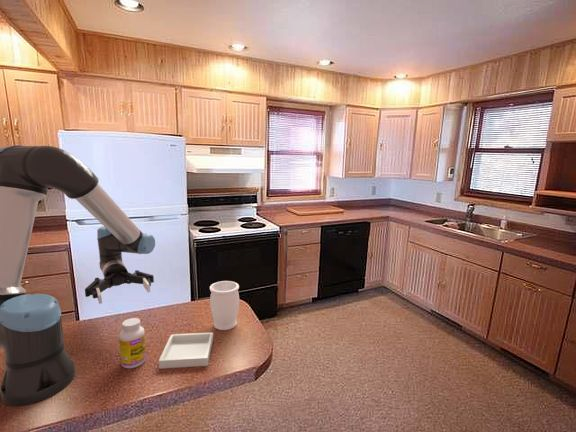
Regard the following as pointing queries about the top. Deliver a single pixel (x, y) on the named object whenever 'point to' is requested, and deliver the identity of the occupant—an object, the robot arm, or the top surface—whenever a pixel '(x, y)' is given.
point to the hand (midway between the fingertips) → (125, 293)
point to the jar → (224, 304)
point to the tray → (187, 350)
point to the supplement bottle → (132, 343)
